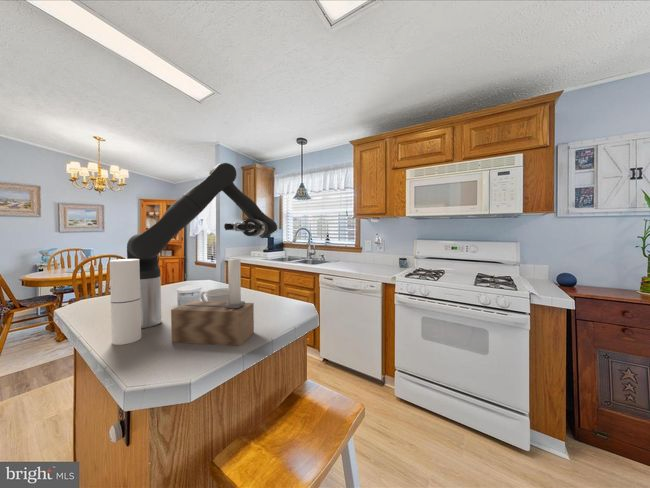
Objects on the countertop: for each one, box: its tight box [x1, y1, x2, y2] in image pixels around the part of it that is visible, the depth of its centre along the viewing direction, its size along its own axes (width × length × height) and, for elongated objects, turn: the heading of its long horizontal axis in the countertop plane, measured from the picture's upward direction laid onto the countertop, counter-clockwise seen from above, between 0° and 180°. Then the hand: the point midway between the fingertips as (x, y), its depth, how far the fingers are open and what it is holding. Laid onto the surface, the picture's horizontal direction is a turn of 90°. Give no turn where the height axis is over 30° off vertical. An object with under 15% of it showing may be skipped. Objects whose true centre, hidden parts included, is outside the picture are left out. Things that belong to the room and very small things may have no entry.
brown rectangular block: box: [170, 300, 255, 346], centre depth 80 cm, size 22×10×10 cm, turn 84°
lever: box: [224, 258, 246, 308], centre depth 78 cm, size 4×5×15 cm
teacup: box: [200, 287, 229, 302], centre depth 101 cm, size 12×15×10 cm
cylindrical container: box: [109, 258, 142, 346], centre depth 77 cm, size 7×7×25 cm
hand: (236, 226), depth 92 cm, fingers open, 8 cm apart
